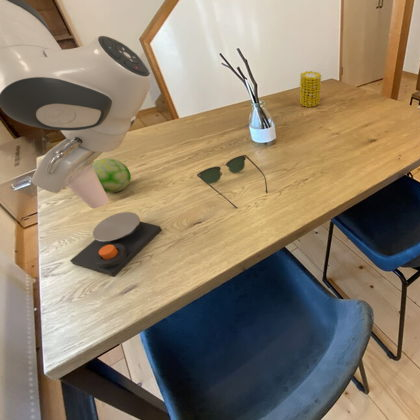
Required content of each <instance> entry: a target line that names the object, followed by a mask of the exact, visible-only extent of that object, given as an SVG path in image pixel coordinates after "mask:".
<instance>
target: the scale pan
mask: <svg viewBox="0 0 420 420" xmlns="http://www.w3.org/2000/svg"><path fill="white" fill-rule="evenodd" d="M140 221H141V218H140V217H139V215H138V214H137V213H134V212H131V211H124V212H123V211H122V212H117V213H114V214H112V215H110V216H107V217H106V218H104V219H102V220H101V221H100V222H99V223H97V224H96V225H95V227H94V228H93V230H92V237H93V238H94V240H95V239H96V240H97V241H99V242H102V243H110V242H115V241H118V240H121V239H123V238H125V237H127V236H129V235H130V234H132V233H133V232H134V231H135V230H136V229H137V228H138V226H139V224H140Z"/></svg>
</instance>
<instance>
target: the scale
mask: <svg viewBox="0 0 420 420" xmlns="http://www.w3.org/2000/svg"><path fill="white" fill-rule="evenodd" d="M162 230H163V229H162V227H161V225H157V224H153V223H149V222H145V221H141V220H140V224H139V226H138V228H137V229H136V230H135V231H134V232H133V233H132V234H130V235H129V236H127V237H125V238H123V239H121V240H118V241H115V242H110V243H102V242H99V241H97V240H96V239H95V238H94V240H93V241H92V242H90V243H89V244H88V245H86V247H84V248H83V249H82V250H80V251H79V253H77V254H76V255H75V256H73V257H72V258H71V259H70V260H69V262H71V264H72V265H75V266H78V267H81V268H85V269H88V270H90V271H94V272H97V273H100V274H103V275H107V276H110V277H113V278H115V277H116V276H117V275H118V274H119V273H120V272H121V271H122V270H123V269H124V268H125V267H126V266H127V265H128V264H129V263H130V262H131V261H132V260H133V259H134V258H135V257H136V256H138V254H139V253H140V252H141V251H142V250H143V249H144V248H145V247H147V245H149V244H150V243H151V241H152V240H154V239H155V237H156V236H157V235H159V234H160V233H161V232H162ZM106 245H114V247H115V248H116V249H117V250H118V254H117V255H116V256H115V257H113V258H111V259H108V260H105V259H103V258H102V257H101V255H100V254H99V250H100V249H101V248H102V247H104V246H106Z"/></svg>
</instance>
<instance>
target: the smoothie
mask: <svg viewBox="0 0 420 420" xmlns="http://www.w3.org/2000/svg"><path fill="white" fill-rule="evenodd" d="M93 163H94V162H93ZM93 163H91V164H90V165H88V166H87V167H86V168H85V169H84V170H83V171H82V172H81V173H80V174H79V175H77V176H76V177H75V178H74V179H73V180H72V181H71V182H70V183H69V185H68V186H67V187H68V188H69V189H70V190H71V191H72V192H73V193H74V194H75V195H76V196H77V197H78V198H79V199H80V200H81V201H82V202H84V203H85V204H86V205H87V206H88V207H89V208H91V209H98V208H101V207H104V206H105V205H107V204H108V202H109V200H110V199H109V197H108V195H107V192H105V191H104V189H103V187H102V185H101V183H100V181H99V179H98V177H97V175H96V173H95V171H94V169H93V167H92V166H93Z"/></svg>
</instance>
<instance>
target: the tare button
mask: <svg viewBox="0 0 420 420" xmlns="http://www.w3.org/2000/svg"><path fill="white" fill-rule="evenodd" d="M99 254H100V255H101V257H102V258H103V259H105V260H108V259H111V258H113V257H115V256H116V255H117V254H118V250H117V249H116V248H115V247H114V245H106V246H104V247H102V248H101V249H100V250H99Z"/></svg>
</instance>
